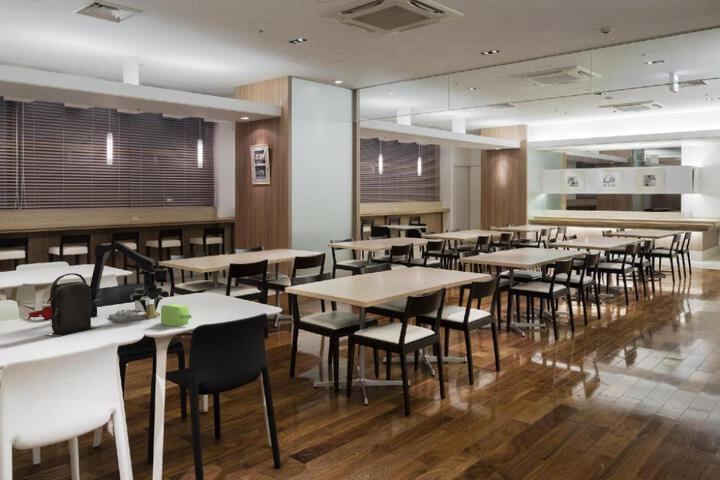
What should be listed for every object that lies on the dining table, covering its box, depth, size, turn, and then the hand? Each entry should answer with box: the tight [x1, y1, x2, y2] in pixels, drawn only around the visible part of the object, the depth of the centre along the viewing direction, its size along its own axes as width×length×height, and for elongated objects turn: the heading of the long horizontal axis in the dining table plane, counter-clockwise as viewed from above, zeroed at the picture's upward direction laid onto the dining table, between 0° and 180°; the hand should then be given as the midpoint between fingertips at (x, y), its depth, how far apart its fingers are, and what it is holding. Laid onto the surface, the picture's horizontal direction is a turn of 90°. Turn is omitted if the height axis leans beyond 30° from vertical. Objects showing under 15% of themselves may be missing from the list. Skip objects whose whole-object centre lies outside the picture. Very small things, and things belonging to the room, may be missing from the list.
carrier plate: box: [108, 309, 146, 325], centre depth 300 cm, size 13×18×6 cm
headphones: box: [28, 305, 51, 320], centre depth 307 cm, size 15×7×20 cm
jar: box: [134, 287, 152, 312], centre depth 324 cm, size 9×8×12 cm
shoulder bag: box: [46, 272, 101, 338], centre depth 274 cm, size 23×9×28 cm, turn 148°
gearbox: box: [160, 303, 192, 327], centre depth 288 cm, size 18×10×10 cm, turn 59°
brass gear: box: [140, 303, 161, 319], centre depth 307 cm, size 9×9×6 cm
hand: (150, 311), depth 307 cm, fingers closed on brass gear, 5 cm apart
